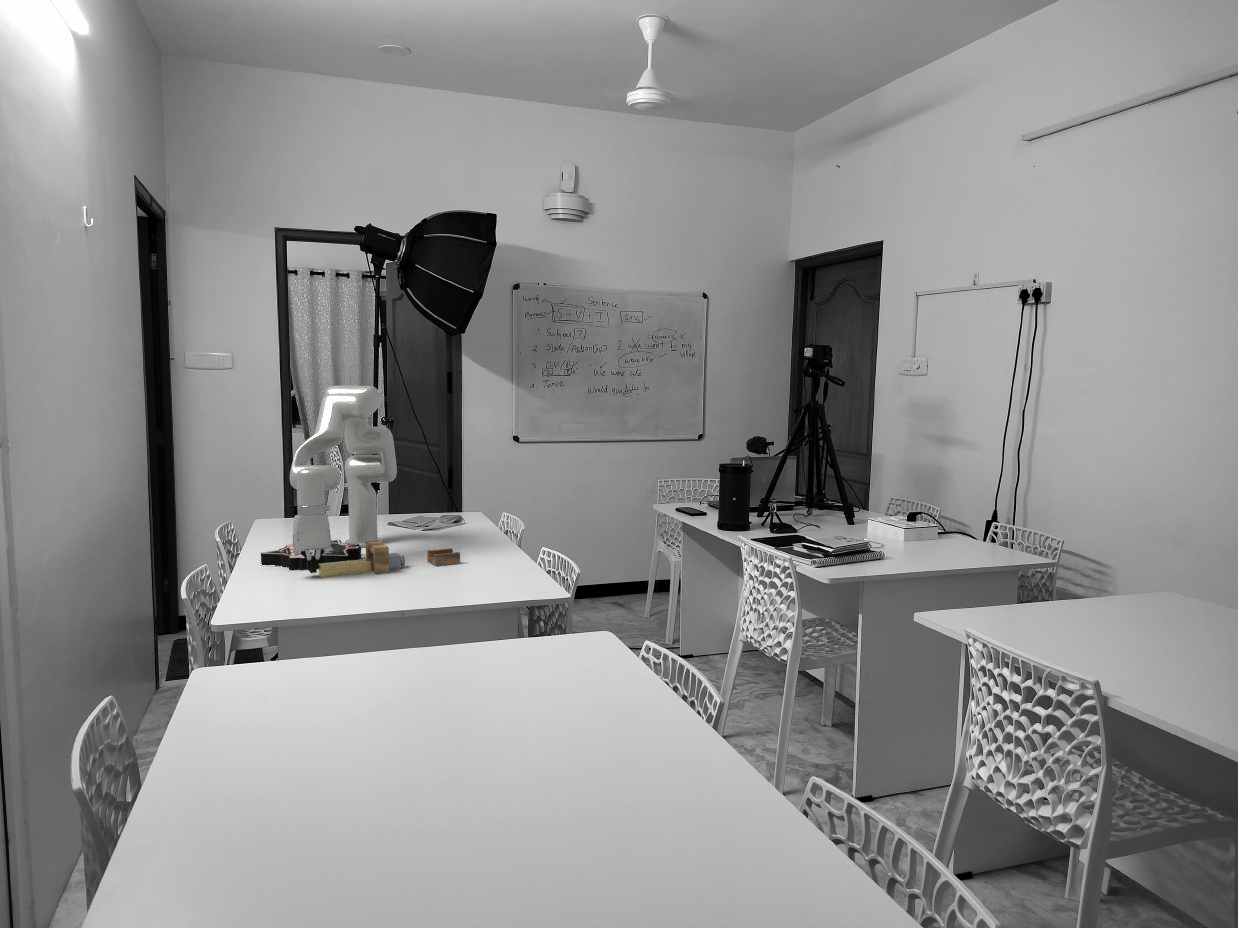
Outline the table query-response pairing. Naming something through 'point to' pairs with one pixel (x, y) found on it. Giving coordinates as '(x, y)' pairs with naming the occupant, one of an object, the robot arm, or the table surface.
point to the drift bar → (346, 567)
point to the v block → (443, 557)
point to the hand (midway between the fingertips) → (312, 572)
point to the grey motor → (396, 561)
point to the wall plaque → (299, 562)
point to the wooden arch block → (378, 556)
